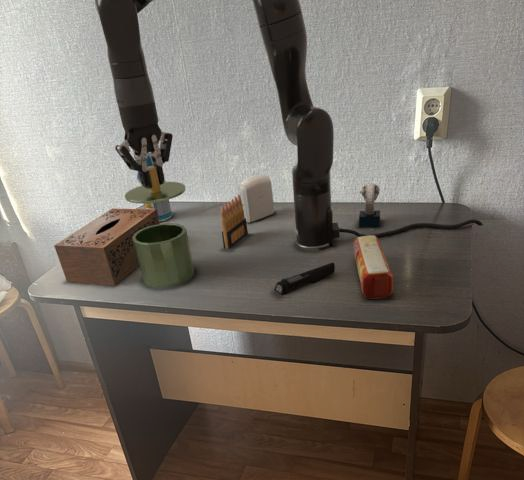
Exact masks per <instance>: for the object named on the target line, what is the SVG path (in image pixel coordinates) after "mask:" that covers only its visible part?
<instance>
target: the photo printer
mask: <svg viewBox="0 0 524 480" xmlns="http://www.w3.org/2000/svg"><path fill="white" fill-rule="evenodd" d="M238 189H239V195H240V197H241V201H242V206H243V210H244V217H245V218H246V223H252V222H256V221H258V220H260V219H263V218H266V217H269V216H271V215H273V214H275V208H274V207H275V205H274V196H273V195H274V194H273V185H272V180H271V178H270V176H269V175H266V174H254V175H252V176H249V177H248V178H245V179H244V180H243V181H241V182H240V183H239V185H238Z"/></svg>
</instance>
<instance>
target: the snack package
mask: <svg viewBox="0 0 524 480" xmlns="http://www.w3.org/2000/svg"><path fill="white" fill-rule="evenodd" d="M367 235H368V236H361V237H358V236H357V237H356V238H355V239H354V240H353V249H352V251H353V256H354V259H355V263H356V267H357V273H358V274H357V275H358V277H359V281H360V288H361V289H360V290H361V293H362V296H363V297H364V298H365V299H369V300H379V299H385V298H388V297H390V296H391V295H392V293H393V292H394V275H393V273H392V271H391V269H390V267H389V264H388V261H387V258H386V256H385V254H384V251H383V248H382V246H381V242H380V239H379V237H376V236H374V235H373V234H367Z"/></svg>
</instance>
